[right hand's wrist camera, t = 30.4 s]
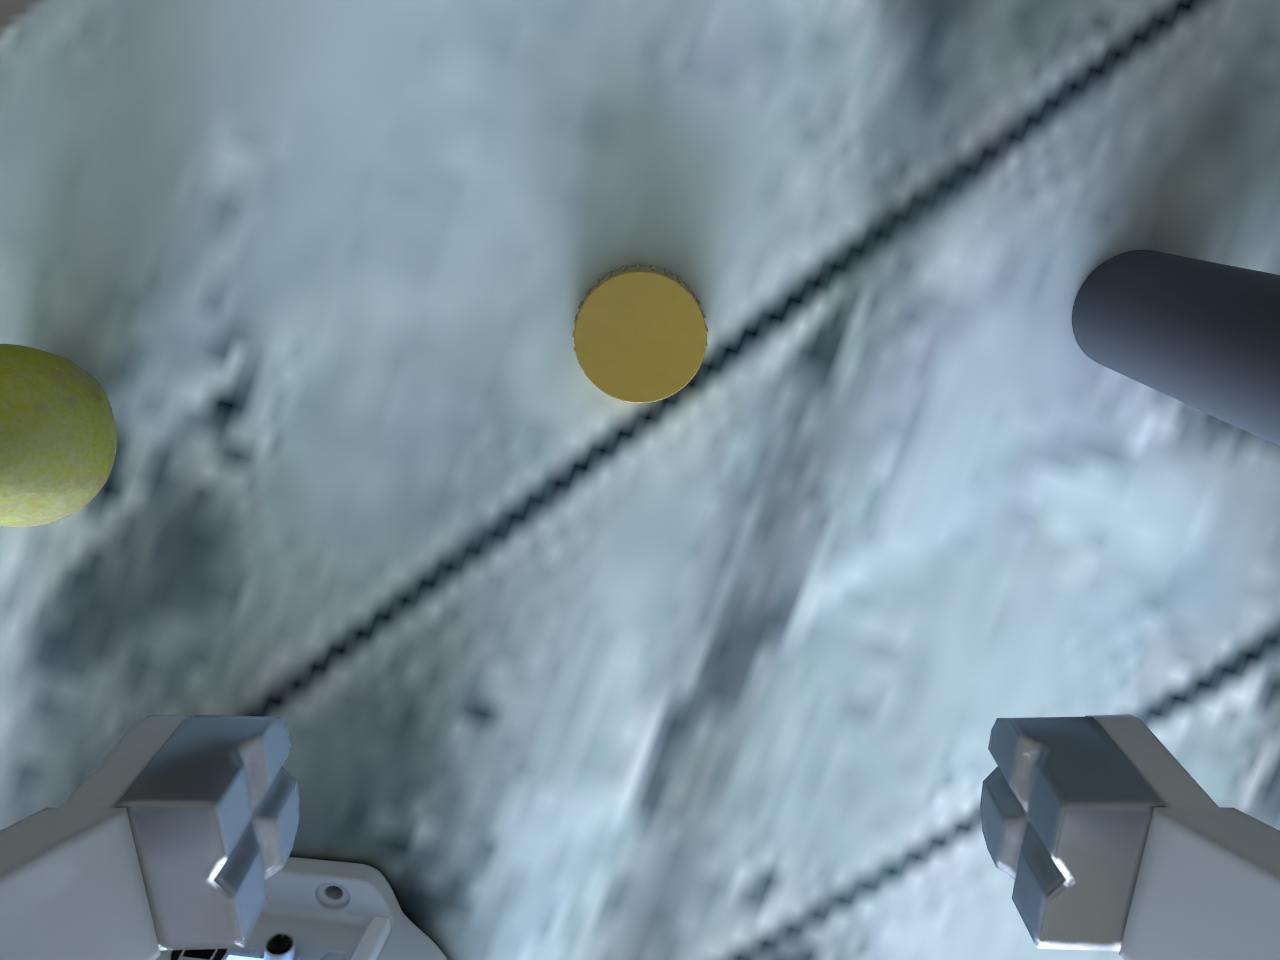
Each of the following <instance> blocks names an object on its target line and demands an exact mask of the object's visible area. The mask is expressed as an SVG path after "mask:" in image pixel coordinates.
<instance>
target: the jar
mask: <svg viewBox="0 0 1280 960" xmlns="http://www.w3.org/2000/svg"><path fill="white" fill-rule="evenodd" d="M1072 326H1073V332H1074V336H1075V339H1076V341H1077V343H1078V345H1079V346H1080V348H1081V349H1082V351H1083V352H1084V353H1085V354H1086V355H1087V356H1088V357H1089V358H1091V359H1092V360H1094V361H1095V362H1097V363H1099V364H1101V365H1103V366H1105V367H1108V368H1110V369H1112V370H1114V371H1116V372H1118V373H1121V374H1123V375H1125V376H1127V377H1129V378H1131V379H1134V380H1136V381H1138V382H1140V383H1142V384H1145V385H1147V386H1149V387H1151V388H1153V389H1155V390H1158V391H1160V392H1162V393H1164V394H1166V395H1168V396H1171V397H1173V398H1175V399H1177V400H1179V401H1182V402H1184V403H1186V404H1188V405H1190V406H1192V407H1195V408H1197V409H1199V410H1201V411H1203V412H1205V413H1208V414H1210V415H1212V416H1214V417H1216V418H1219V419H1221V420H1223V421H1225V422H1227V423H1229V424H1232V425H1234V426H1236V427H1238V428H1240V429H1242V430H1245V431H1247V432H1249V433H1251V434H1253V435H1256V436H1258V437H1260V438H1262V439H1264V440H1266V441H1269V442H1271V443H1273V444H1275V445H1277V446H1279V447H1280V275H1276V274H1270V273H1265V272H1260V271H1255V270H1250V269H1244V268H1239V267H1234V266H1229V265H1224V264H1218V263H1213V262H1208V261H1203V260H1197V259H1192V258H1187V257H1182V256H1177V255H1171V254H1166V253H1161V252H1156V251H1149V250H1136V251H1130V252H1126V253H1123V254H1120V255H1117V256H1115V257H1113V258H1111V259H1109V260H1108V261H1106V262H1104V263H1103V264H1102V265H1100V266H1099V267H1098V268H1097V269H1096V270H1095V271H1094V272H1092V274H1091V275H1090V276H1089V277H1088V278H1087V279H1086V281H1085V282H1084V284H1083V285H1082V287H1081V289H1080V291H1079V292H1078V295H1077V297H1076V300H1075V303H1074V307H1073V313H1072Z"/></svg>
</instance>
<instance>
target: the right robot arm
mask: <svg viewBox="0 0 1280 960" xmlns="http://www.w3.org/2000/svg"><path fill="white" fill-rule="evenodd" d="M291 749H292V747H291V742H290V737H289V732H288V727H287V724H286V723H285V722H284V721H283V720H282V719H281V718H280V717H260V716H212V715H195V716H190V715H151V716H147V717H144V718H141V719H140V720H139V721H138V722H137V723H136V724H135V725H134V726H133V727H132V728H131V730H130V731H129V732H128V733H127V734H126V735H125V736H124V737H123V738H122V740H121V741H120V742H119V743H118V744H117V745H116V746H115V747H114V749H113V750H112V751H111V752H110V753H109V754H108V755H107V756H106V758H105V759H104V760H103V761H102V762H101V763H100V764H99V765H98V767H97V768H96V769H95V770H94V771H93V772H92V773H91V774H90V776H89V777H88V778H87V779H86V780H85V781H84V782H83V783H82V784H81V786H80V787H79V788H78V789H77V790H76V791H75V792H74V793H73V795H72V796H71V797H70V798H69V799H68V800H67V801H66V802H65V804H64V805H63V806H62V807H61V808H45V809H43V810H41V811H39V812H37V813H35V814H33V815H31V816H29V817H27V818H25V819H23V820H21V821H19V822H17V823H15V824H13V825H11V826H9V827H7V828H5V829H3V830H1V831H0V960H448V959H447V958H446V956H445V955H444V954H443V952H442V951H441V950H440V949H439V947H438V946H437V945H436V944H435V943H434V942H433V941H432V940H431V939H430V938H429V937H428V936H427V935H426V934H425V933H424V932H422V931H421V930H420V929H419V928H418V927H417V926H416V925H415V924H414V923H412V922H411V921H410V920H409V919H408V918H407V916H406V915H405V914H404V913H403V912H402V910H401V908H400V906H399V903H398V901H397V899H396V897H395V895H394V892H393V890H392V888H391V886H390V885H389V883H388V881H387V880H386V878H385V877H384V876H383V875H382V873H381V872H379V871H378V870H377V869H375V868H373V867H371V866H369V865H365V864H359V863H350V862H339V861H329V860H319V859H309V858H298V857H289V855H290V853H291V850H292V848H293V846H294V841H295V837H296V832H297V828H298V823H299V801H300V799H299V792H298V785H297V781H296V780H295V779H294V778H293V777H292V776H291V775H290V774H289V773H288V772H287V771H286V770H285V769H284V768H283V767H282V765H283V763H284V761H285V760H286V758H287V756H288V754H289V753H290V751H291ZM988 749H989V751H990V753H991V754H992V756H993V758H994V760H995V761H996V763H997V765H998V767H997V768H996V769H995V770H994V771H993V772H992V773H991V774H990V775H989V776H988V777H987V778H986V779H985V780H984V781H983V786H982V794H981V803H980V810H981V821H982V831H983V834H984V838H985V841H986V845H987V848H988V851H989V853H990V855H991V857H992V859H993V861H994V863H995V865H996V867H997V868H999V869H1000V870H1001V871H1003V872H1004V873H1006V874H1007V875H1008V876H1010V877H1011V878H1013V879H1014V880H1015V883H1014V889H1013V895H1012V900H1013V902H1014V904H1015V905H1016V907H1017V909H1018V911H1019V913H1020V915H1021V917H1022V919H1023V921H1024V923H1025V925H1026V927H1027V929H1028V931H1029V933H1030V935H1031V937H1032V939H1033V941H1034V943H1035V945H1036V947H1037V948H1045V949H1080V950H1115V951H1120V952H1119V955H1120V956H1121V957H1123V958H1124V959H1125V960H1280V831H1279V830H1277V829H1275V828H1273V827H1271V826H1269V825H1267V824H1265V823H1263V822H1261V821H1259V820H1257V819H1255V818H1253V817H1251V816H1249V815H1247V814H1245V813H1243V812H1241V811H1239V810H1237V809H1235V808H1219V807H1218V806H1217V805H1216V804H1215V802H1214V801H1213V800H1212V799H1211V798H1210V797H1209V796H1208V795H1207V793H1206V792H1205V791H1204V790H1203V789H1202V788H1201V787H1200V786H1199V785H1198V783H1197V782H1196V781H1195V780H1194V779H1193V778H1192V777H1191V776H1190V774H1189V773H1188V772H1187V771H1186V770H1185V769H1184V768H1183V767H1182V765H1181V764H1180V763H1179V762H1178V761H1177V760H1176V759H1175V758H1174V756H1173V755H1172V754H1171V753H1170V752H1169V751H1168V750H1167V749H1166V747H1165V746H1164V745H1163V744H1162V743H1161V742H1160V741H1159V740H1158V739H1157V737H1156V736H1155V735H1154V734H1153V733H1152V732H1151V731H1150V730H1149V728H1148V727H1147V726H1146V725H1145V724H1144V723H1143V722H1142V721H1141V720H1140V719H1138V718H1136V717H1134V716H1132V715H1130V714H1125V715H1095V716H1085V717H1036V718H997V719H996V722H995V724H994V726H993V728H992V730H991V735H990V741H989V747H988ZM333 886H336V887H339V888H335V887H333Z"/></svg>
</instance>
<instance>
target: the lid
mask: <svg viewBox="0 0 1280 960" xmlns="http://www.w3.org/2000/svg"><path fill="white" fill-rule="evenodd" d="M699 304H700V302H699V299H698V297H696V298H695V296H694V295H693V293H692V290H691V287H690V286H689V285H688V286H686V285H685V284H684V283H683V282H682V281H681V279H680V277H679V276H677V277H675V276H674V275H672V274H670V273H668V270H667V269H665V270H661V269H658V268H654V265H651V267H648V266H639V264H637V266H633V267H627V268H625V266H622V269H619V270H617V271H615V272H612V271H610V272H609V274H608V275H607V276H605V277H604V278H603V279H601V280H600V279H598V280H597V282H596V285H595V286H594V287H593V288H592V289H591V290H590V289H588V290H587V293H586V297H585V299H584V301H581V302H580V305H579V307H578V308H579V309H580V311H579V313H578V314H576V317H575V319H574V322H575V329H574V332H573V337H574V345H575V347H574V351H576V355H577V358H578V361H579V364H580V366H581V368H582V369H583V371H584V373H585V374H586V376H587V377H588V378H589V379H590V381H591V382H592V383H593V384H594V385H595V386H596V387H598V388H599V389H600V390H602V391H603V392H604V393H606V394H608V395H610V396H611V397H614V398H616V399H619V400H622V401H626V402H632V403H648V402H654V401H658V400H662V399H664V398H667V397H669V396H671V395H673V394H675V393H676V392H678V391H679V390H681V389H682V388H683V387H684V386H685V385H686V384H687V383H688V382H689V381H690V380H691V379H692V378H693V377H694V375H695V374H696V373H697V370H698V369H699V367H700V365H701V363H702V360H703V359H704V354H705V349H706V346H707V333H706V332H708V329H707V326H706V324H705V321H704V318H706V317H705V314H704V311H703V310H701V309H700V306H699Z"/></svg>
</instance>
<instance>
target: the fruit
mask: <svg viewBox="0 0 1280 960" xmlns="http://www.w3.org/2000/svg"><path fill="white" fill-rule="evenodd" d="M116 448H117V433H116V426H115V421H114V417H113V413H112V409H111V406H110V403H109V401H108V398H107V396H106V395H105V393H104V391H103V389H102V388H101V387H100V385H99V384H98V382H97V381H96V380H95V379H94V378H93V377H92V376H91V375H89V374H88V373H87V372H86V371H84V370H83V369H82V368H80V367H79V366H77V365H76V364H74V363H73V362H71V361H69V360H67V359H65V358H63V357H60V356H58V355H54V354H51V353H48V352H45V351H41V350H38V349H34V348H30V347H26V346H21V345H12V344H0V526H7V527H31V526H38V525H44V524H48V523H52V522H55V521H57V520H60V519H62V518H64V517H66V516H69V515H71V514H72V513H74V512H76V511H77V510H79V509H81V508H82V507H84V506H85V505H86V504H87V503H89V502H90V501H91V500H92V499H93V498H94V497H95V496H96V494H97V493H98V492H99V491H100V490H101V488H102V487H103V485H104V484H105V483H106V481H107V479H108V477H109V475H110V472H111V470H112V467H113V463H114V459H115V454H116Z"/></svg>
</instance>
